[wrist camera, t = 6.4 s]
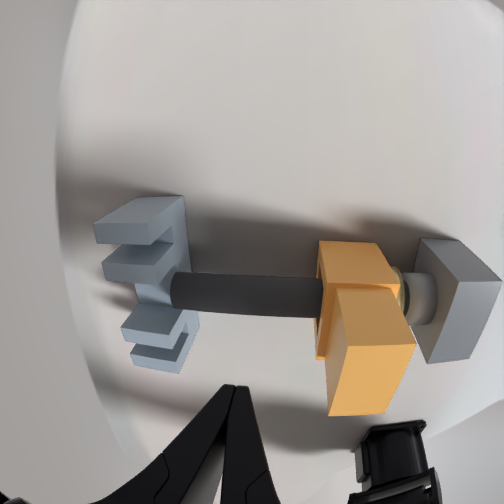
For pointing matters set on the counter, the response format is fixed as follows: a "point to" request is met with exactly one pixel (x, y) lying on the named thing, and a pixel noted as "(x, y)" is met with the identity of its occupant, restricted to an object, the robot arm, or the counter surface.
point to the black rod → (251, 294)
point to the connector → (449, 299)
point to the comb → (151, 277)
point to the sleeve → (360, 328)
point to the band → (401, 292)
